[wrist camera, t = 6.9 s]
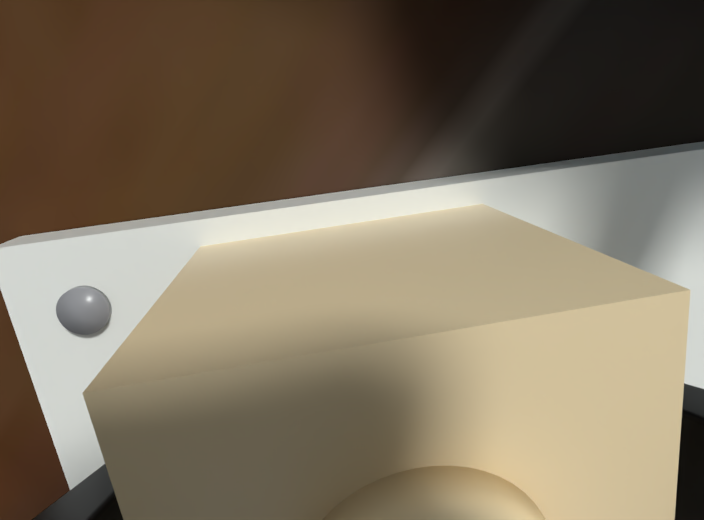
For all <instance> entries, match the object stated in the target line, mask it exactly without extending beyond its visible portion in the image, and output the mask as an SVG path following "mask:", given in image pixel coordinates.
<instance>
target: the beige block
mask: <svg viewBox="0 0 704 520" xmlns="http://www.w3.org/2000/svg"><path fill="white" fill-rule="evenodd" d="M689 305H690V289H687V288H685V287H682V286H680V285H677V284H675V283H673V282H670V281H668V280H665V279H663V278H661V277H658V276H656V275H653V274H651V273H649V272H646V271H644V270H641V269H639V268H636V267H634V266H632V265H629V264H627V263H624V262H622V261H620V260H617V259H615V258H612V257H610V256H608V255H605V254H603V253H600V252H598V251H595V250H593V249H591V248H588V247H586V246H583V245H581V244H579V243H576V242H574V241H571V240H569V239H567V238H564V237H562V236H559V235H557V234H554V233H552V232H550V231H547V230H545V229H542V228H540V227H538V226H535V225H533V224H530V223H528V222H526V221H523V220H521V219H518V218H516V217H513V216H511V215H509V214H506V213H504V212H501V211H499V210H497V209H494V208H492V207H489V206H487V205H485V204H478V205H471V206H464V207H458V208H451V209H445V210H438V211H431V212H425V213H418V214H412V215H405V216H398V217H392V218H385V219H379V220H372V221H365V222H359V223H352V224H346V225H339V226H332V227H326V228H319V229H312V230H306V231H299V232H293V233H286V234H279V235H273V236H266V237H260V238H253V239H246V240H240V241H233V242H227V243H220V244H213V245H207V246H200V247H199V249H198V250H197V251H196V252H195V254H194V255H193V256H192V257H191V259H190V260H189V261H188V262H187V264H186V265H185V266H184V267H183V268H182V270H181V271H180V272H179V273H178V275H177V276H176V277H175V278H174V280H173V281H172V282H171V283H170V285H169V286H168V287H167V288H166V290H165V291H164V292H163V293H162V295H161V296H160V297H159V298H158V300H157V301H156V302H155V303H154V305H153V306H152V307H151V308H150V310H149V311H148V312H147V313H146V315H145V316H144V317H143V318H142V320H141V321H140V322H139V323H138V324H137V326H136V327H135V328H134V329H133V331H132V332H131V333H130V334H129V336H128V337H127V338H126V339H125V341H124V342H123V343H122V344H121V346H120V347H119V348H118V349H117V351H116V352H115V353H114V354H113V356H112V357H111V358H110V359H109V361H108V362H107V363H106V364H105V366H104V367H103V368H102V369H101V371H100V372H99V373H98V374H97V376H96V377H95V378H94V379H93V381H92V382H91V383H90V384H89V385H88V387H87V388H86V389H85V390H84V392H83V393H82V394H83V397H84V400H85V403H86V406H87V409H88V412H89V415H90V418H91V421H92V424H93V427H94V431H95V434H96V437H97V440H98V443H99V446H100V449H101V452H102V455H103V458H104V461H105V464H106V468H107V471H108V474H109V477H110V480H111V483H112V486H113V489H114V492H115V495H116V498H117V501H118V505H119V508H120V511H121V514H122V517H123V520H675V507H676V493H677V478H678V464H679V449H680V435H681V420H682V406H683V391H684V377H685V362H686V348H687V334H688V319H689Z"/></svg>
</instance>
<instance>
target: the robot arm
mask: <svg viewBox="0 0 704 520" xmlns="http://www.w3.org/2000/svg"><path fill="white" fill-rule="evenodd" d="M32 520H123V517H122V514H121V511H120V508H119V505H118V501H117V498H116V495H115V492H114V489H113V486H112V483H111V480H110V477H109V474H108V471H107V468H106V464H104V465H102V466H101V467H100V468H98V469H97V470H96V471H95V472H93V473H92V474H91V475H89V476H88V477H87V478H85V479H84V480H83V481H82V482H80V483H79V484H78V485H76V486H75V487H74V488H72V489H71V490H70V491H69V492H67V493H66V494H65V495H63V496H62V497H61V498H59V499H58V500H57V501H56V502H54V503H53V504H52V505H50V506H49V507H48V508H46V509H45V510H44V511H43V512H41V513H40V514H39V515H37V516H36V517H35V518H33V519H32ZM675 520H704V389H702V388H699V387H695V386H692V385H688V384H685V383H684V391H683V406H682V420H681V435H680V449H679V464H678V478H677V493H676V507H675Z"/></svg>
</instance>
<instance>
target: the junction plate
mask: <svg viewBox="0 0 704 520" xmlns="http://www.w3.org/2000/svg"><path fill="white" fill-rule="evenodd" d="M478 204H485V205H487V206H489V207H492V208H494V209H497V210H499V211H501V212H504V213H506V214H509V215H511V216H513V217H516V218H518V219H521V220H523V221H526V222H528V223H530V224H533V225H535V226H538V227H540V228H542V229H545V230H547V231H550V232H552V233H554V234H557V235H559V236H562V237H564V238H567V239H569V240H571V241H574V242H576V243H579V244H581V245H583V246H586V247H588V248H591V249H593V250H595V251H598V252H600V253H603V254H605V255H608V256H610V257H612V258H615V259H617V260H620V261H622V262H624V263H627V264H629V265H632V266H634V267H636V268H639V269H641V270H644V271H646V272H649V273H651V274H653V275H656V276H658V277H661V278H663V279H665V280H668V281H670V282H673V283H675V284H677V285H680V286H682V287H685V288H687V289H690V305H689V319H688V334H687V348H686V362H685V377H684V383H685V384H688V385H692V386H695V387H699V388H702V389H704V141H703V142H695V143H688V144H681V145H674V146H667V147H659V148H652V149H645V150H638V151H631V152H623V153H616V154H609V155H602V156H595V157H587V158H580V159H573V160H566V161H559V162H551V163H544V164H537V165H530V166H523V167H515V168H508V169H501V170H494V171H487V172H479V173H472V174H465V175H458V176H451V177H444V178H436V179H429V180H422V181H415V182H408V183H400V184H393V185H386V186H379V187H372V188H364V189H357V190H350V191H343V192H336V193H328V194H321V195H314V196H307V197H300V198H292V199H285V200H278V201H271V202H264V203H256V204H249V205H242V206H235V207H228V208H220V209H213V210H206V211H199V212H192V213H184V214H177V215H170V216H163V217H156V218H148V219H141V220H134V221H127V222H120V223H112V224H105V225H98V226H91V227H84V228H76V229H69V230H62V231H55V232H48V233H40V234H33V235H26V236H20V237H17V238H15V239H12V240H10V241H7V242H5V243H2V244H0V289H1V292H2V295H3V298H4V300H5V303H6V306H7V309H8V312H9V315H10V318H11V321H12V324H13V327H14V329H15V332H16V335H17V338H18V341H19V344H20V347H21V350H22V353H23V355H24V358H25V361H26V364H27V367H28V370H29V373H30V376H31V379H32V382H33V384H34V387H35V390H36V393H37V396H38V399H39V402H40V405H41V408H42V410H43V413H44V416H45V419H46V422H47V425H48V428H49V431H50V434H51V437H52V439H53V442H54V445H55V448H56V451H57V454H58V457H59V460H60V463H61V465H62V468H63V471H64V474H65V477H66V480H67V483H68V486H69V489H70V490H71V489H72V488H74V487H75V486H76V485H78V484H79V483H80V482H82V481H83V480H84V479H85V478H87V477H88V476H89V475H91V474H92V473H93V472H95V471H96V470H97V469H98V468H100V467H101V466H102V465H104V464H105V461H104V458H103V455H102V452H101V449H100V446H99V443H98V440H97V437H96V434H95V431H94V427H93V424H92V421H91V418H90V415H89V412H88V409H87V406H86V403H85V400H84V397H83V394H82V393H83V392H84V390H85V389H86V388H87V387H88V385H89V384H90V383H91V382H92V381H93V379H94V378H95V377H96V376H97V374H98V373H99V372H100V371H101V369H102V368H103V367H104V366H105V364H106V363H107V362H108V361H109V359H110V358H111V357H112V356H113V354H114V353H115V352H116V351H117V349H118V348H119V347H120V346H121V344H122V343H123V342H124V341H125V339H126V338H127V337H128V336H129V334H130V333H131V332H132V331H133V329H134V328H135V327H136V326H137V324H138V323H139V322H140V321H141V320H142V318H143V317H144V316H145V315H146V313H147V312H148V311H149V310H150V308H151V307H152V306H153V305H154V303H155V302H156V301H157V300H158V298H159V297H160V296H161V295H162V293H163V292H164V291H165V290H166V288H167V287H168V286H169V285H170V283H171V282H172V281H173V280H174V278H175V277H176V276H177V275H178V273H179V272H180V271H181V270H182V268H183V267H184V266H185V265H186V264H187V262H188V261H189V260H190V259H191V257H192V256H193V255H194V254H195V252H196V251H197V250H198V249H199V247H200V246H207V245H213V244H220V243H227V242H233V241H240V240H246V239H253V238H260V237H266V236H273V235H279V234H286V233H293V232H299V231H306V230H312V229H319V228H326V227H332V226H339V225H346V224H352V223H359V222H365V221H372V220H379V219H385V218H392V217H398V216H405V215H412V214H418V213H425V212H431V211H438V210H445V209H451V208H458V207H464V206H471V205H478Z"/></svg>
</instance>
